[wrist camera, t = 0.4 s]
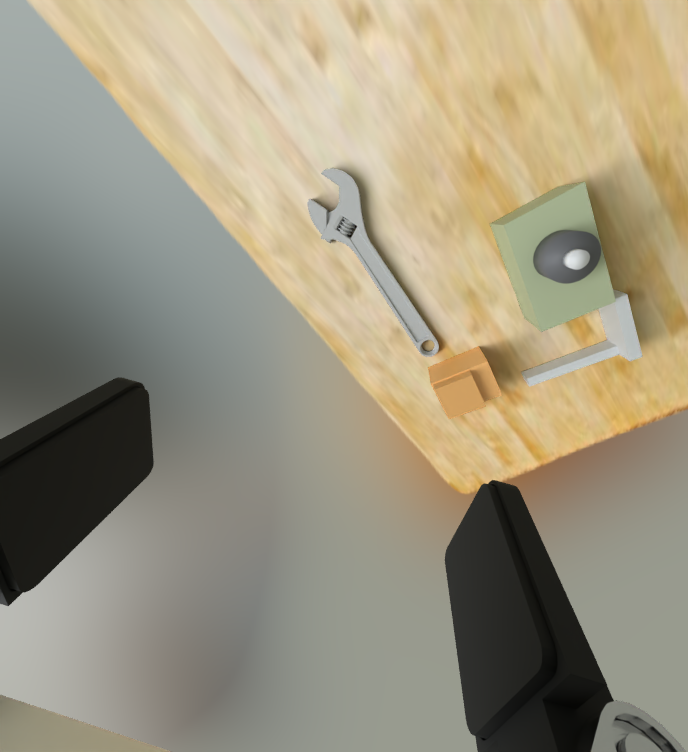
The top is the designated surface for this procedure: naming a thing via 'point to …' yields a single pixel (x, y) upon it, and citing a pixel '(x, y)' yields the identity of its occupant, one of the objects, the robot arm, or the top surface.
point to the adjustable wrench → (368, 254)
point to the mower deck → (520, 251)
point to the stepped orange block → (463, 382)
